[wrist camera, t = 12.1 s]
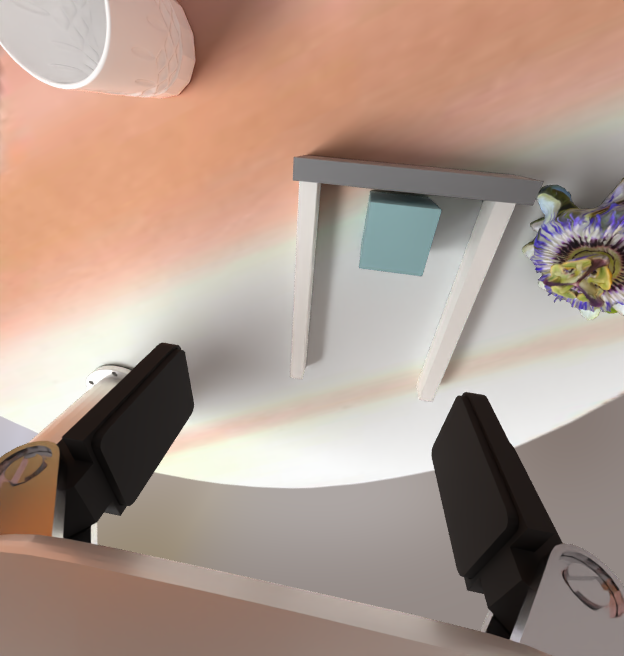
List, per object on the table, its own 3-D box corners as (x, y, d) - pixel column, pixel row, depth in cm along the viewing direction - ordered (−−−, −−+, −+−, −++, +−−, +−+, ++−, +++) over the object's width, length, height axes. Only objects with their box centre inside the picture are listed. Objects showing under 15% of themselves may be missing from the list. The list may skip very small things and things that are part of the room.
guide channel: (428, 387, 36) (436, 418, 32) (294, 364, 38) (285, 391, 34) (513, 174, 24) (543, 181, 20) (306, 155, 25) (293, 157, 21)
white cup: (221, 81, 24) (140, 47, 15) (147, 123, 26) (43, 113, 18) (166, -58, 20) (21, -201, 12) (87, 6, 23) (-79, -75, 14)
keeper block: (412, 252, 28) (422, 276, 23) (360, 246, 29) (359, 268, 24) (427, 196, 26) (441, 209, 21) (370, 190, 26) (370, 202, 21)
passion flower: (510, 231, 31) (495, 205, 21) (656, 156, 24) (729, 70, 15) (562, 331, 29) (572, 350, 20) (736, 279, 22) (876, 269, 13)
